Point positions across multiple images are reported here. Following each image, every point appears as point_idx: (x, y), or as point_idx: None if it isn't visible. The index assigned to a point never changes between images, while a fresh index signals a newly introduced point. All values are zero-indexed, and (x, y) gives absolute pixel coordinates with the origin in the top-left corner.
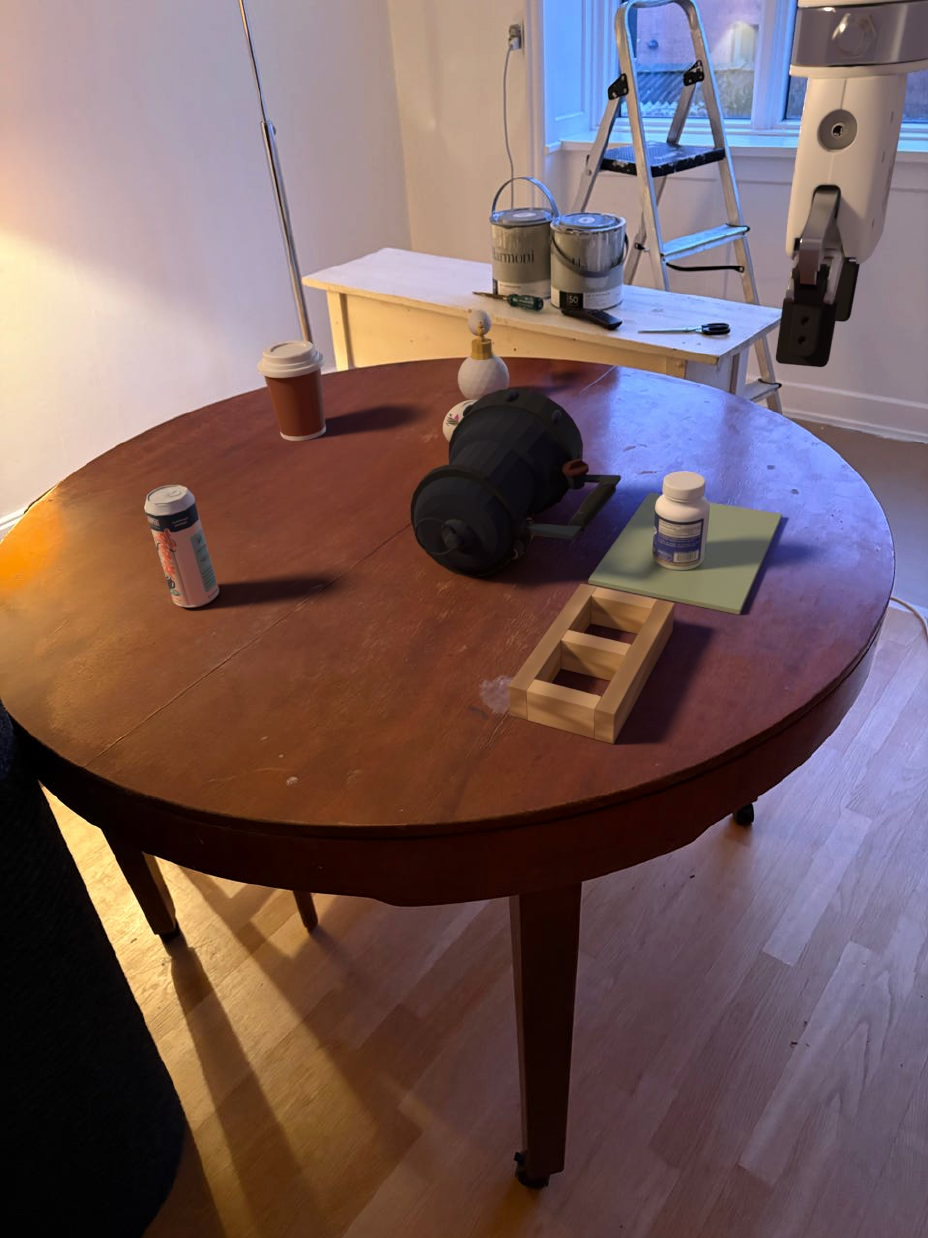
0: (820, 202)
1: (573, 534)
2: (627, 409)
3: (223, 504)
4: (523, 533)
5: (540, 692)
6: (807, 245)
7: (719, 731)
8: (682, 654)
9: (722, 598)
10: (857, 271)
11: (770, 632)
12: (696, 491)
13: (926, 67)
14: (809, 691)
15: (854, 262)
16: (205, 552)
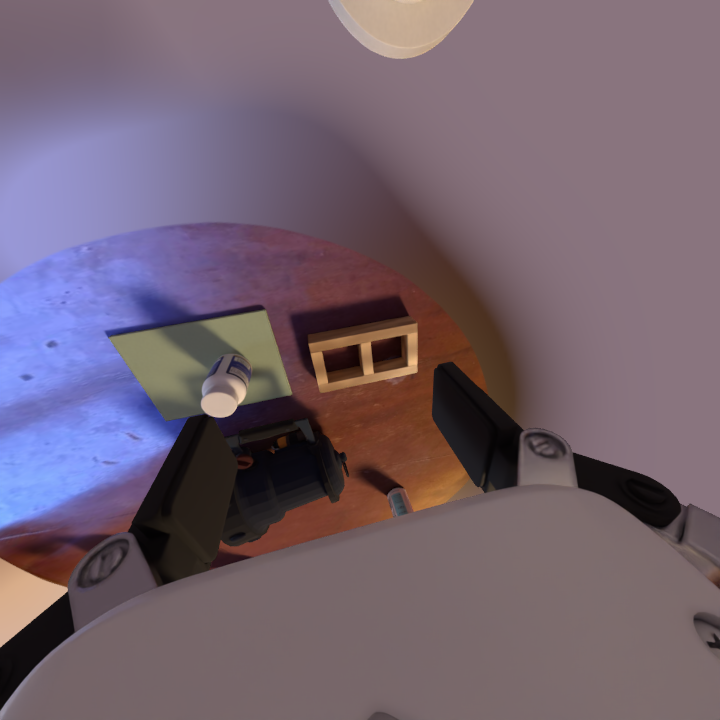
0: None
1: (305, 420)
2: (46, 496)
3: (332, 534)
4: (317, 439)
5: (416, 358)
6: None
7: (377, 274)
8: (324, 320)
9: (260, 325)
10: (164, 496)
11: (271, 284)
12: (225, 391)
13: None
14: (317, 239)
15: (151, 526)
16: (400, 509)
